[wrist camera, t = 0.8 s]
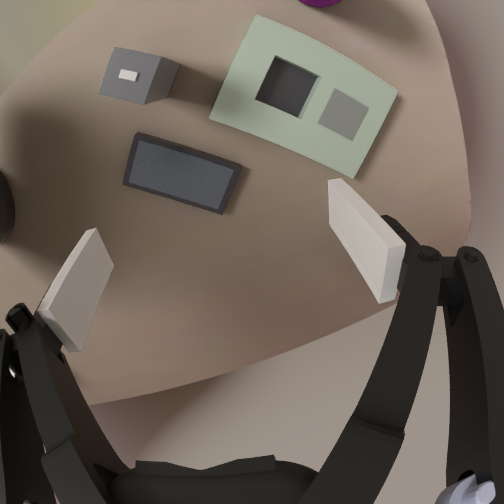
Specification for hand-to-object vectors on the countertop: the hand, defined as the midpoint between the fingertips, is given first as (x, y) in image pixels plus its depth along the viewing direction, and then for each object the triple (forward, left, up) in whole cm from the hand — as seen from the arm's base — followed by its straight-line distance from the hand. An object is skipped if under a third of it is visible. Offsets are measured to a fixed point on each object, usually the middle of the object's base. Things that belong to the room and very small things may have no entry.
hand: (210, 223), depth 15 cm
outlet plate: (+8, +10, -22) cm, 25 cm away
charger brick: (-10, +6, -22) cm, 25 cm away
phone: (-3, -5, -22) cm, 23 cm away
